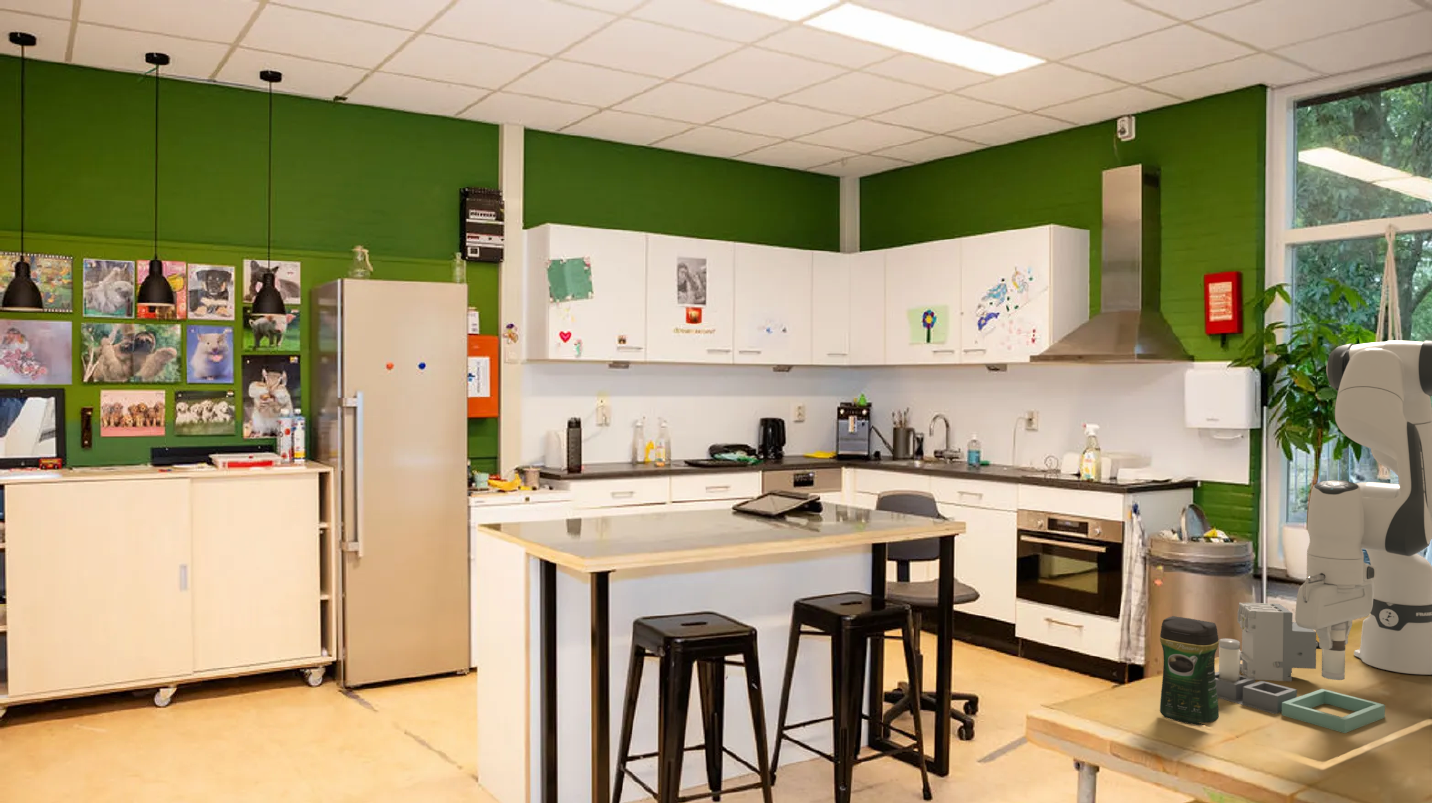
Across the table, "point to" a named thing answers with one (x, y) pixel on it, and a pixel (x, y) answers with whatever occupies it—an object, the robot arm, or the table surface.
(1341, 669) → the cylinder
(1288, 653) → the circuit breaker
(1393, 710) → the table surface
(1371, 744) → the table surface
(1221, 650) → the cylinder
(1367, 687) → the table surface
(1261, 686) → the block
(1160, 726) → the table surface
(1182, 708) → the coffee jar
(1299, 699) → the parts tray
